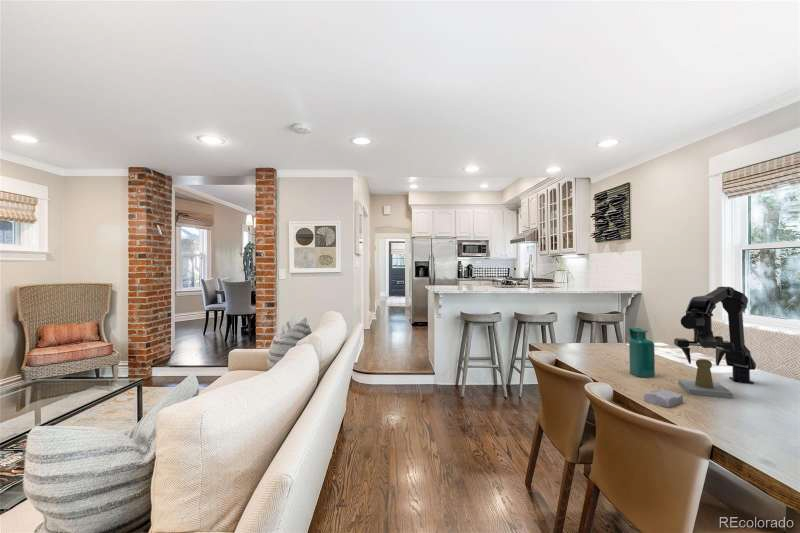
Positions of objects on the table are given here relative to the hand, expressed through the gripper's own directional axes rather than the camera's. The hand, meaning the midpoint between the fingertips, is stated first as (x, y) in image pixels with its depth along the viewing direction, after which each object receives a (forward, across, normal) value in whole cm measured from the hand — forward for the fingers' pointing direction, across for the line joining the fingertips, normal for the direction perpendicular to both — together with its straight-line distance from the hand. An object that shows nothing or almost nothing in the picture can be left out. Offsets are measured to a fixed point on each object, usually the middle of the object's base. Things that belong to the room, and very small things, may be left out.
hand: (703, 364), depth 151 cm
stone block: (+12, -19, -20) cm, 30 cm away
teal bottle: (+11, -19, +18) cm, 28 cm away
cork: (+9, 0, 0) cm, 9 cm away
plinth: (+11, 0, 0) cm, 11 cm away
